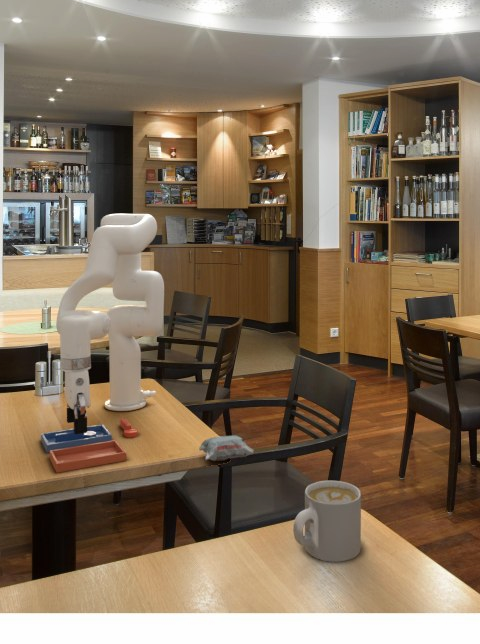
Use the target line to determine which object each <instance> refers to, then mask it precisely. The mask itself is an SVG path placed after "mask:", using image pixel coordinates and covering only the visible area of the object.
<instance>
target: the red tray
mask: <svg viewBox="0 0 480 644" xmlns="http://www.w3.org/2000/svg"><path fill="white" fill-rule="evenodd" d="M49 460H50V462H51V464H52V466H53V469H54V471H55V473H56V474H58V473H63V472H68V471H74V470H79V469H85V468H91V467H96V466H102V465H108V464H112V463H119V462H125V461H127V452H126V450H125V449H124V448H123V446H121V444H120V443H119V442H118V440H117V439H112V441H107V442H101V443H95V444H88V445H82V446H76V447H70V448H64V449H57V450H51V451H50V452H49Z"/></svg>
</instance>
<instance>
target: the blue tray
mask: <svg viewBox="0 0 480 644" xmlns="http://www.w3.org/2000/svg"><path fill="white" fill-rule="evenodd" d="M72 431H74V428H70V429H62V430H55V431H49V432H41V433H40V441H41V444H42V446H43V448H44V450H45V452H46V453H48V454H50V451H51V450H57V449H64V448H70V447H76V446H82V445H88V444H95V443H101V442H107V441H113V435H112V433H111V432H110V431H109V430H108V428H107V427H106V426H105V425H104V424H97V425H90V426H87V431H95V432H96V433H97V437H91V438H85V439H78V440H72V441H65V442H59V443H56V442H55V434H59V433H66V432H72Z"/></svg>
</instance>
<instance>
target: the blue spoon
mask: <svg viewBox="0 0 480 644" xmlns="http://www.w3.org/2000/svg"><path fill="white" fill-rule="evenodd" d="M91 437H97V433H96V432H95V431H87V432H86V433H81V434H75V433H74V431H72V432H66V433H59V434H55V442H56V443H59V442H65V441H72V440H78V439H85V438H91Z"/></svg>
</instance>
